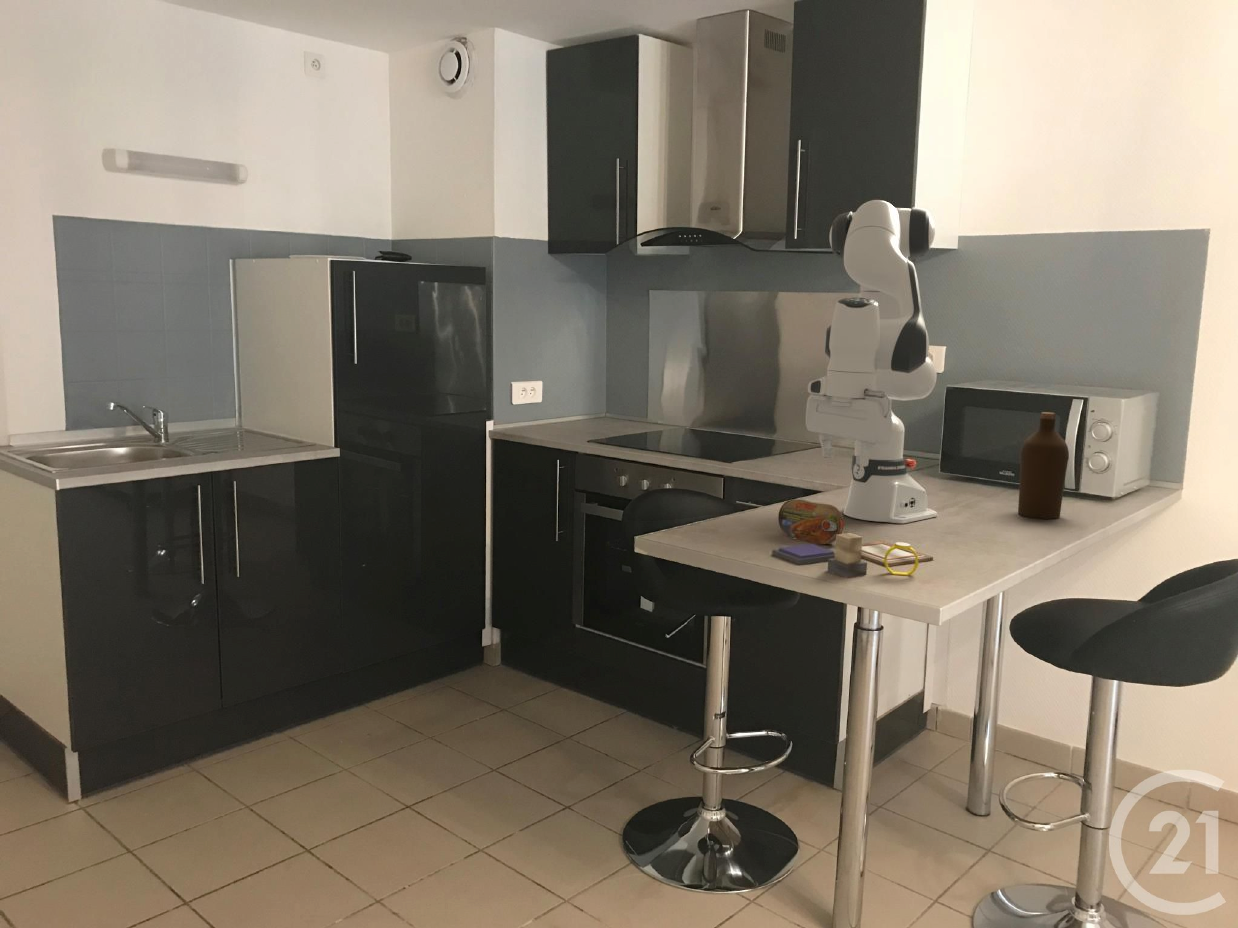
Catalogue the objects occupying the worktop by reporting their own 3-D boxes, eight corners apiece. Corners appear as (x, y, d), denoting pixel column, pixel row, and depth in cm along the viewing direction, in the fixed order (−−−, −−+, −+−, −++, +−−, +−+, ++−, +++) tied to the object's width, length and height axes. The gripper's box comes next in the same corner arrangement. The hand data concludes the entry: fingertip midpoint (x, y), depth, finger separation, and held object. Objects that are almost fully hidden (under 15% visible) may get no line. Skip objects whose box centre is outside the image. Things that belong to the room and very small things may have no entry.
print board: (882, 544, 205) (883, 539, 205) (932, 560, 193) (933, 555, 193) (838, 549, 199) (838, 545, 199) (887, 566, 187) (887, 562, 187)
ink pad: (811, 549, 199) (812, 542, 199) (839, 559, 191) (840, 552, 191) (772, 554, 194) (772, 547, 194) (799, 564, 187) (799, 557, 186)
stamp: (848, 568, 186) (850, 531, 185) (866, 574, 181) (868, 537, 180) (827, 570, 183) (829, 533, 182) (845, 577, 179) (847, 540, 178)
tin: (776, 534, 211) (778, 496, 210) (785, 532, 213) (787, 494, 212) (836, 548, 201) (838, 508, 199) (844, 545, 203) (847, 506, 201)
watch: (915, 575, 183) (919, 544, 182) (916, 579, 180) (921, 548, 179) (882, 570, 184) (886, 539, 183) (883, 574, 181) (887, 543, 180)
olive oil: (1031, 520, 232) (1041, 415, 228) (1006, 510, 242) (1015, 410, 238) (1072, 519, 234) (1082, 415, 230) (1045, 510, 244) (1054, 410, 240)
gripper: (904, 392, 172) (897, 470, 174) (828, 383, 189) (822, 453, 191) (876, 392, 169) (869, 471, 171) (802, 382, 186) (797, 454, 189)
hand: (844, 462), depth 181 cm, fingers open, 8 cm apart
